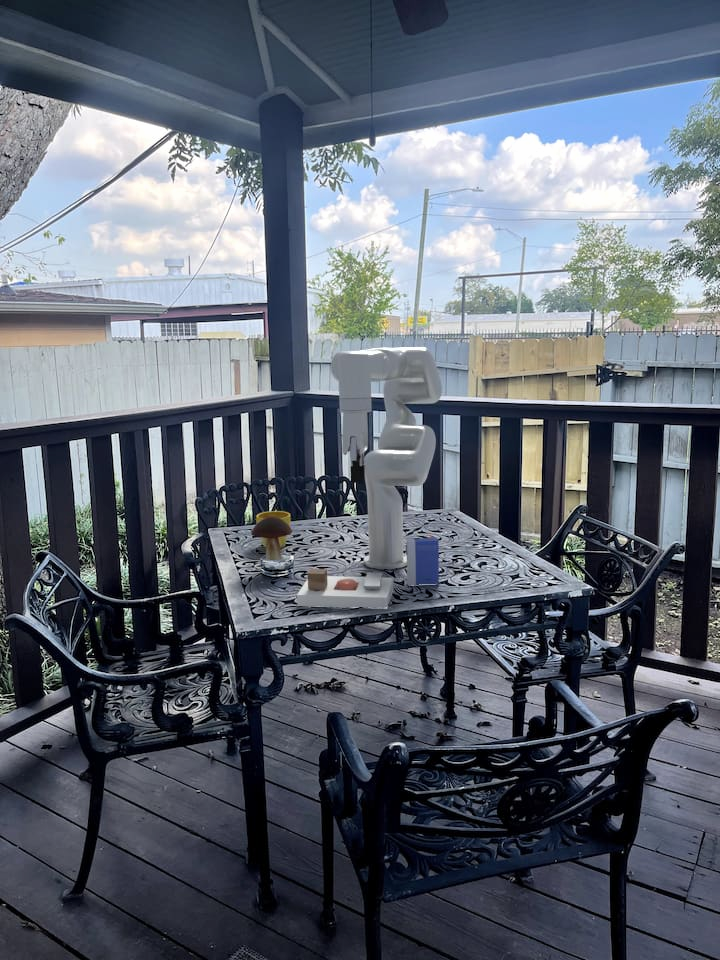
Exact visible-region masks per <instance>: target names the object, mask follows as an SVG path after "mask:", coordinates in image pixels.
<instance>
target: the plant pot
mask: <svg viewBox="0 0 720 960" xmlns="http://www.w3.org/2000/svg"><path fill="white" fill-rule="evenodd" d="M271 516H273V517H277V518H280V519H282V520H283V521H284V522H286V523H287V524H288V525H289V526H290V527H291V513H289V512H288V511H287V512H286V511H282V510H279V511H278V510H273V511H272V510H270V511H263V512H260V513H258V514H257V515H256V516H255V520H256V524H257V523H259V522H260V521H261V520H263V519H265V518H267V517H271ZM287 537H288V535H286V536H283V537H278V540H279V544H280V549H281V548H284V547H285V546H286V543H287ZM260 538H261V542H262V545H263V547H264V548H265V549H266V542H267V538H263V537H260Z"/></svg>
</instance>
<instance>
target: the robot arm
mask: <svg viewBox="0 0 720 960" xmlns="http://www.w3.org/2000/svg"><path fill="white" fill-rule="evenodd" d="M330 372H331V375H332V376H333V378H334V380H336V381H337V382H338V398H339V400H338V402H339V413H341V414H343V415H342V433H341V434H342V439H341V440H342V441H341V442H342V445H341V446H342V449H341V452H342V454H343V455H345V456H347V454H349V457H350V458H349V459H350V460H349V461H350V463H349V464H350V466H349V467H350V470H349V471H350V482H351V483H352V484H353V483H354V484H355V483H357V484H358V483H360V484H361V483H364V482H365V486H366V496H367V498H366V499H367V522H368V523H367V524H368V525H367V528H368V555H366V556H365V557H364V558H363V564H364V565H365V566H366V567H368V568H370V569H374V568H375V570H384V569H387V570H397V569H401V568H404V567H407V555H406V553H405V554H404V521H403V519H404V517H403V516H404V515H403V511H404V510H403V508H404V507H403V505H404V503H403V499H402V496H401V494H400V493H399V490H398V489H397V488H396V487H395V486H397V487H400V486H401V487H403V486H404V487H420V486H422V485H423V484H424V483H425V482H426V480H427V479H428V475H429V471H430V468H431V465H432V461H433V458H434V456H435V455H434V454H435V450H436V444H437V443H436V442H437V440H436V434H435V432H434V429H433V428H432V427H431V426H429V425H425V424H417V419H416V417H415V414H413V412H412V411H411V410H410V409H409V408H408V407H407V406H406V404H411V405H413V404H416V405H417V404H418V405H419V404H421V405H422V404H423V405H426V404H427V405H428V404H435V403H437V402H439V401H440V399H441V398H442V394H443V393H442V391H443V387H442V386H443V385H442V380H441V377H440V374H439V370H438V367H437V363H436V360H435V357H434V355H433V353H432V352H431V351H430V349H428V348H427V347H424V346H416V347H415V346H414V347H412V346H411V347H410V346H409V347H406V346H405V347H377V348H369V349H361V350H343V351H337V352H336V353H335V354H334V355H333V357H332V358H331V362H330ZM382 381H384V384H383V401H384V407H385V412H386V413H385V414H386V421H385V423H384V426H383V428H382V430H381V432H380V436H379V438H378V442H377V447H378V448H377V449H375V450H371V451H369V452H368V453H367V454H366V455H365V452H366V451H367V450H368V447H369V425H368V423H369V422H368V421H369V420H368V418H369V417H368V413H370V412H372V383H375V382H376V383H378V382H382ZM396 568H397V569H396Z"/></svg>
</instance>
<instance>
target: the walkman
mask: <svg viewBox="0 0 720 960" xmlns="http://www.w3.org/2000/svg"><path fill="white" fill-rule="evenodd" d="M405 540H406V544H405V555H407V565H406V583H407V584H408V585H419V584H436V583H440V578H439V577H440V569H439V567H440V566H439V563H440V562H439V560H440V558H439V556H440V555H439V553H440V552H439V547H440V546H439V541H440V540H439V538H437V536H436V537H435V536H432V535H431V536H427V537H420V538H406V539H405ZM407 584H406V585H407Z"/></svg>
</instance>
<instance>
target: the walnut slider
mask: <svg viewBox="0 0 720 960" xmlns="http://www.w3.org/2000/svg"><path fill="white" fill-rule="evenodd" d="M327 576H328V569H327V568H310V569H309V570H308V572H307V579H308V589H309V590H325V589H326V587H327V585H328V583H327Z"/></svg>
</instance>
